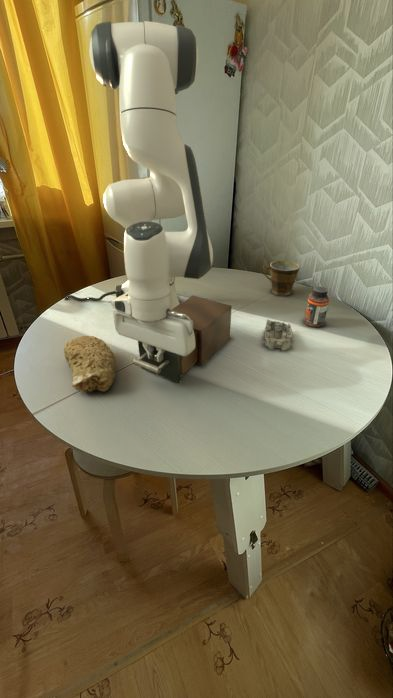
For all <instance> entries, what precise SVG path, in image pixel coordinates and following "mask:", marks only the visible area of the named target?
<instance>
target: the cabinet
mask: <svg viewBox="0 0 393 698" xmlns="http://www.w3.org/2000/svg"><path fill="white" fill-rule="evenodd" d="M179 303H180V304H179V305H178V306H176V307H175V308H173V309H172V310H174V311H177V312H179V313H185V314H187V316H188V317H189V318H190V319H191V320H192V321H193V330H194V331H195V332H198V333H199V360H198V361H197V362H196V363H195V364H194V365H196V366H198V367H203V366H205V364H207V362H208V361H209V360H211V358H212V357H213V356H214V355H215V354H217V352H219V350H221V349H222V347H223V346H225V344H227V342H229V340H230V339H231V329H232V328H231V327H232V307H233V306H232V305H231V304H227V303H223V302H219V301H215V300H212V299H209V298H208V299H207V298H205V297H201V296H197V295H190V296H189V297H188V298H186V299H185V300H183V301H181V302H179Z"/></svg>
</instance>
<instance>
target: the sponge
mask: <svg viewBox="0 0 393 698" xmlns="http://www.w3.org/2000/svg"><path fill="white" fill-rule="evenodd" d="M63 353H64V358H65V360H66V363H67V364H68V366H69V368H70V370H71V372H72V374H71V383H72V384H71V385H72V387H73V388H74V389H75V390H76V391H79V392H80V393H82V392H93V391H95V390H97V391H100V392H104V393H105V392H106V391H109V389H110V388H111V386H112V385H113V383H114V380H115V377H116V373H115V369H116V356H115V353H114V352H113V351H112V350H111V348H110V346H109V345H108V344H107V343H106V342H105V341H104V340H103V339H101V338H98V337H96V336H94V335H81V336H78V337H76V338H73V339H71V340H69V341H68V342H66V344H65V345H64V347H63Z"/></svg>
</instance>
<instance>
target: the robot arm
mask: <svg viewBox="0 0 393 698" xmlns="http://www.w3.org/2000/svg"><path fill="white" fill-rule="evenodd" d="M89 41H90V42H89V46H88V49H89V52H88V53H89V54H88V55H89V60H90V64H91V67H92V70H93V73H94V74H95V77H96V80H97V81H98V82H99V83H100V84H101V85H102V86H103V87H107V88H109V89H111V90H117V88H118V89H119V90H118V107H119V108H118V109H119V125H120V133H121V134H120V135H121V139H122V144H123V147H124V148H125V151H126V152H127V154H128V157H129V158H130V160H132V161H133V162H134V163H136V164H137V165H138V166H141V167H142V168H143V167H144V168H146V169H147V170H149V174H150V175H149V177H146V178H134V179H133V178H132V179H123V180H118V181H115V182H113V183H109V184H108V185H107V187H106V189H105V190H104V193H103V205H104V209H105V211H106V213H107V215H108V216H109V217H110V218H111V219H112V220H113V221H114V222H116V223H118V224H119V225H121V226H122V227H123V228H124V229H125V230H124V237H123V259H124V269H125V275H126V278H127V280H126V281H125V282H124V283H123V284H120V285H115V290H113V291H109V292H108V291H107V292H105V293H103V294H101V295H100V296H99V297H91V296H89V297H77V296H75V295H73V294H68V295H66V296H65V297H64V300H69V299H73V300H74V301H78V302H88V301H93V302H100V301H102V300H103V299H104V298H105V297H108V296H112V295H115V298H114V299H113V300H111V307H112V309H113V312H112V316H113V317H112V319H113V325H114V330H115V331H116V333H117V334H118V335H120V336H122V337H125V338H128V339H131V340H134V341H137V342H138V341H140V342H142V345H143V347H144V349H145V350H146V352H147V353H148V358H149V359H151V360H154V361H157V362H161V361H162V360H163V353H164V352H165V350H166V351H169V352H172V353H175V354H178V355H181V356H187V355H188V354H190V353H191V352H192V351H193V350H194V349H195V346H196V345H195V335H194V330H193V321H192V320H191V319H190V318H189V317H188V316H187V314H185V313H179V312H177V311H174V310H172V309H173V308H175V307H176V306H178V305H179V304H180V303H181V302H180V300H179V298H178V294H177V289H176V284H175V280H176V279H175V278H185V279H195V280H199V279H201V278H202V277H204V276H205V275H207V274H208V273H209V272H210V271H211V269H212V266H213V264H214V249H213V245H212V241H211V239H210V235H209V232H208V227H207V222H206V214H205V209H204V208H205V207H204V202H203V195H202V190H201V183H200V182H201V181H200V178H199V174H198V167H197V162H196V158H195V155H194V154H195V153H194V152H193V150H192V147H190V146H189V145H187V144H185V143H184V141H183V139H182V137H181V135H180V131H179V128H178V121H177V118H178V117H177V100H176V95H178V94H179V92H181V91H184V90H187V89H189V88H190V87H191V86H192V84H194V83H195V79H196V76H197V73H198V71H199V64H200V53H199V47H198V44H197V38H196V35H195V34H194V32H193V30H192V29H190V28H188V27H186V26H183V25H181V24H176V25H171V24H167V23H162V22H157V21H147V20H143V21H125V22H123V21H122V22H115V23H112V22H111V20H109V21H104V22H100V23H97V24H95V25H94V27H93V29H92V30H91V37H90V40H89ZM184 215H185V216H186V222H187V228H186V230H183V231H165V228H164V227H163V225H161V224H160V223H157V222H154V221H155V220H156V221H157V220H166V219H174V218H179V217H182V216H184ZM67 297H68V298H67ZM87 298H89V299H87ZM153 346H155V347H156V350H159V351H158V352H157V351H156V350H154V348H153Z"/></svg>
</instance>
